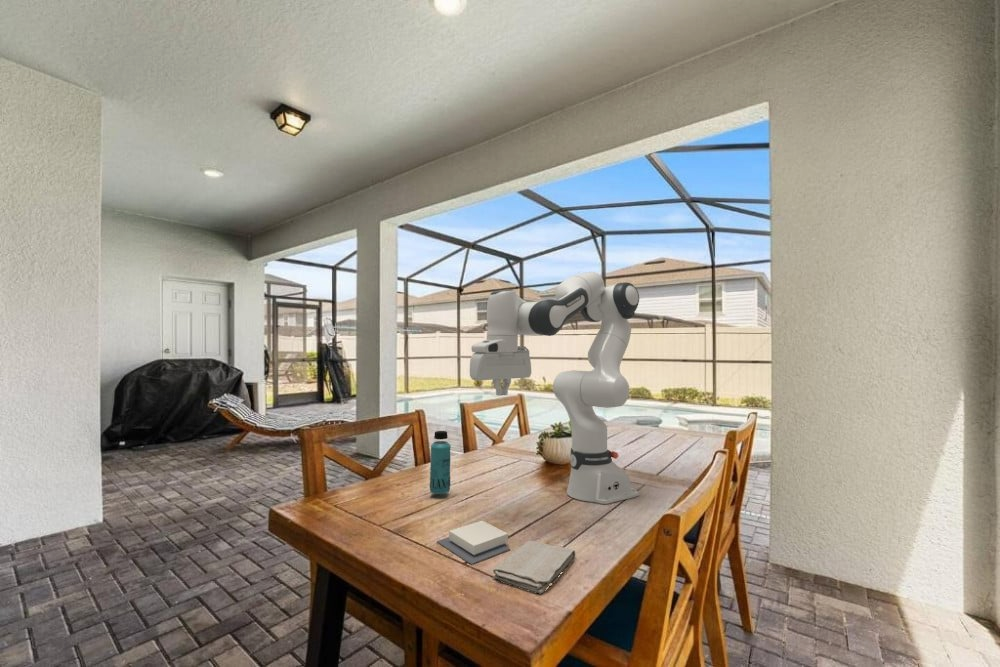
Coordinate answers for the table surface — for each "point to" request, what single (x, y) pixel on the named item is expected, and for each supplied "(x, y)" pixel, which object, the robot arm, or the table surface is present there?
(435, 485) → the beverage bottle
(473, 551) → the tile
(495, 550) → the mat
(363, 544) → the table surface
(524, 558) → the washcloth
